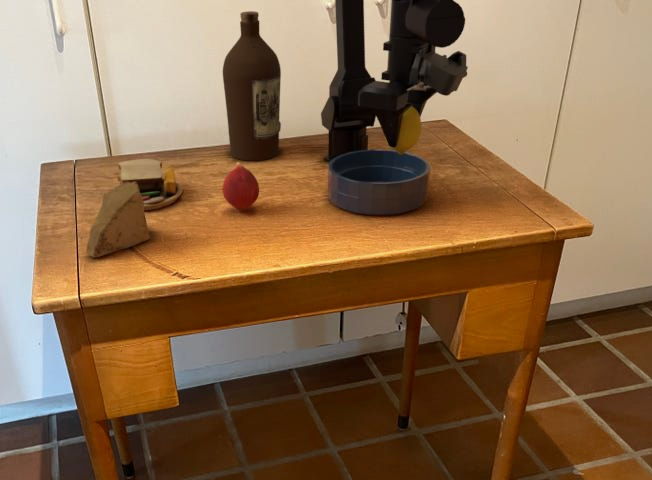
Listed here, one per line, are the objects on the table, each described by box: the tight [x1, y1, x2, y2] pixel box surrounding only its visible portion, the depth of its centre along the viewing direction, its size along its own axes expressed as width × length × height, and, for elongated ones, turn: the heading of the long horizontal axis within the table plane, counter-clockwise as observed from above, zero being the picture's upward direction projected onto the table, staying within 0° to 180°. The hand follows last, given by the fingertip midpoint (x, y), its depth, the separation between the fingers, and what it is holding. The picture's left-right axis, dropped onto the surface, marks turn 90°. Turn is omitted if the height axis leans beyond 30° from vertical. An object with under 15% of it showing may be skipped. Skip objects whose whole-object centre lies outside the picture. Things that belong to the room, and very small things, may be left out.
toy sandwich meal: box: [112, 158, 183, 211], centre depth 124 cm, size 12×14×5 cm
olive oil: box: [222, 10, 282, 162], centre depth 136 cm, size 11×11×25 cm
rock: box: [86, 181, 150, 259], centre depth 108 cm, size 11×9×10 cm
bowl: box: [327, 148, 431, 216], centre depth 120 cm, size 16×16×6 cm
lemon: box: [384, 106, 422, 154], centre depth 113 cm, size 6×6×8 cm
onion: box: [222, 161, 260, 212], centre depth 117 cm, size 6×6×8 cm
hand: (401, 141), depth 114 cm, fingers closed on lemon, 5 cm apart
